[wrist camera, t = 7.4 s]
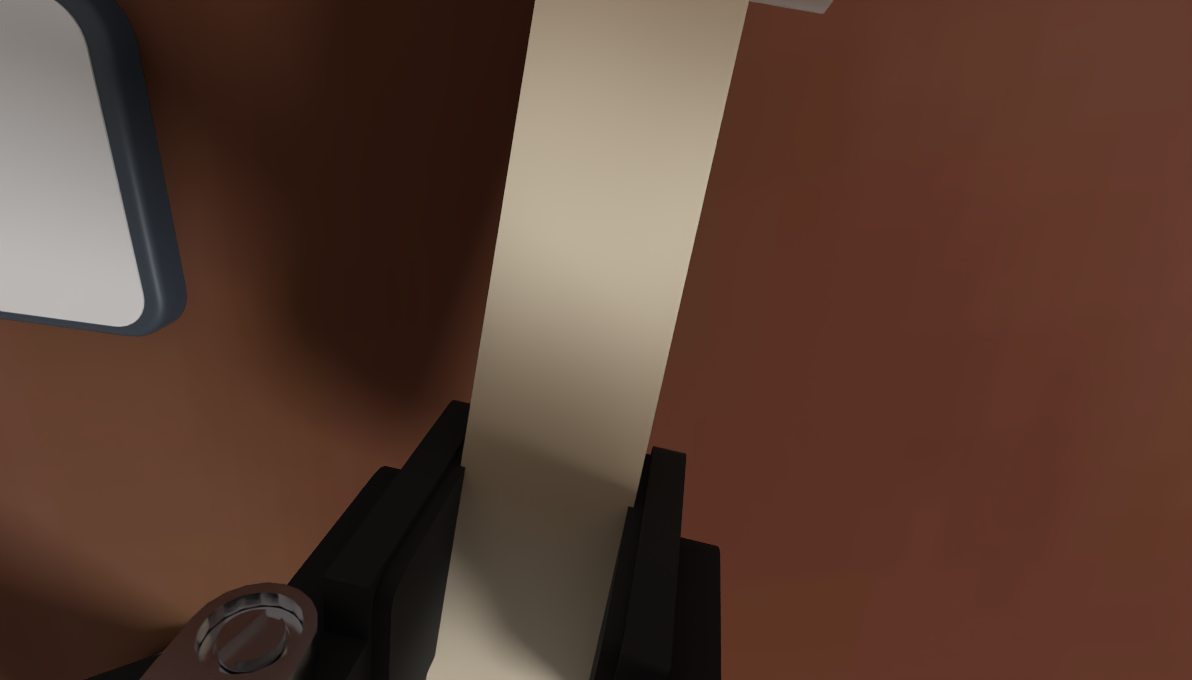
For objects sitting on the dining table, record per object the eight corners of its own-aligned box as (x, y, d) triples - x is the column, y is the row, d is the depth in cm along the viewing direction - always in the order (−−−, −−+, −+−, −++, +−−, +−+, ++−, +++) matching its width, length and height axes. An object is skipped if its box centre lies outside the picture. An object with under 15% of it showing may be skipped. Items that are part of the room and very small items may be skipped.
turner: (640, 739, 14) (617, 1039, 9) (409, 677, 14) (263, 931, 9) (841, -56, 10) (985, -291, 5) (528, -107, 11) (401, -368, 6)
